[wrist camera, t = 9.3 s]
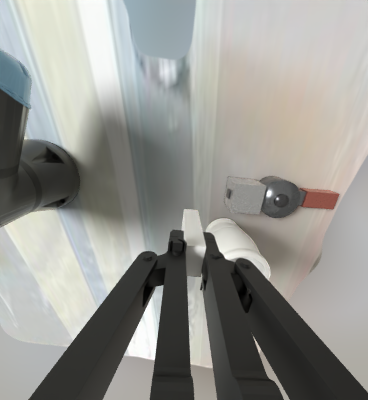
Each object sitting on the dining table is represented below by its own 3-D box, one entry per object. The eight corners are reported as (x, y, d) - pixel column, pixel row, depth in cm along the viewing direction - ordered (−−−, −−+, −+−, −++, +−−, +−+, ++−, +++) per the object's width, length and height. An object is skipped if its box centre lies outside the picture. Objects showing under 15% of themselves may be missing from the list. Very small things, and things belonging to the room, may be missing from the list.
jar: (217, 256, 46) (231, 309, 31) (192, 230, 43) (196, 275, 29) (250, 234, 43) (282, 280, 29) (227, 205, 41) (249, 240, 26)
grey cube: (222, 201, 40) (228, 212, 34) (226, 176, 38) (234, 183, 32) (248, 203, 40) (259, 214, 35) (254, 179, 38) (266, 186, 33)
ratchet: (232, 206, 41) (239, 216, 35) (238, 173, 38) (247, 178, 33) (321, 213, 41) (341, 224, 36) (333, 181, 39) (357, 187, 33)
